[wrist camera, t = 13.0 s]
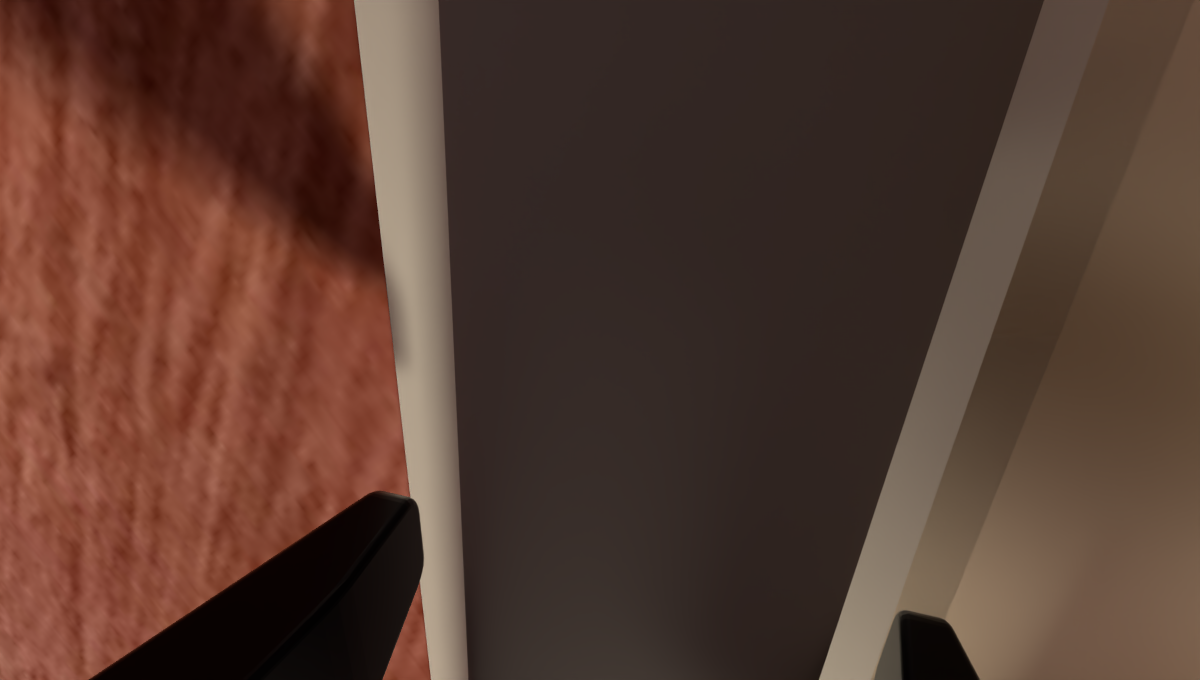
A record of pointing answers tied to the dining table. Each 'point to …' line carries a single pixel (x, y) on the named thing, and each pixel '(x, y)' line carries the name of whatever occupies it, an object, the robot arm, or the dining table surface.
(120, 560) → the dining table surface
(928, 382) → the mat
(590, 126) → the dark grey cylinder rod
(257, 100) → the dining table surface
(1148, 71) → the holder
